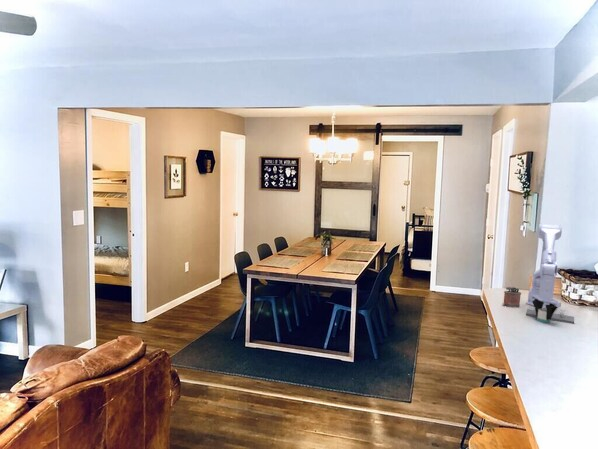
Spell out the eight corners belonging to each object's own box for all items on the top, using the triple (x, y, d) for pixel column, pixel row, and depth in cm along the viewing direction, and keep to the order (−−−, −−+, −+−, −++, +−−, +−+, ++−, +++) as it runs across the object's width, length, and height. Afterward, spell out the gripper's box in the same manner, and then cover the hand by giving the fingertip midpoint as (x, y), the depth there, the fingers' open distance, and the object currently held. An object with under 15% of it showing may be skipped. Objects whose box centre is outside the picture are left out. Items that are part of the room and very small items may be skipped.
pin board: (525, 315, 223) (526, 305, 223) (527, 310, 231) (528, 301, 230) (574, 323, 213) (575, 313, 213) (573, 318, 221) (575, 308, 221)
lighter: (518, 305, 239) (520, 286, 238) (520, 307, 236) (522, 288, 235) (501, 304, 240) (503, 285, 239) (504, 306, 237) (506, 287, 235)
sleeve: (535, 319, 218) (536, 309, 217) (542, 318, 219) (543, 308, 219) (543, 322, 213) (545, 312, 213) (551, 321, 215) (552, 311, 214)
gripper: (527, 285, 220) (524, 313, 221) (554, 293, 206) (551, 323, 208) (537, 284, 222) (534, 312, 224) (565, 292, 209) (562, 322, 211)
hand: (543, 317), depth 216 cm, fingers closed on sleeve, 5 cm apart
